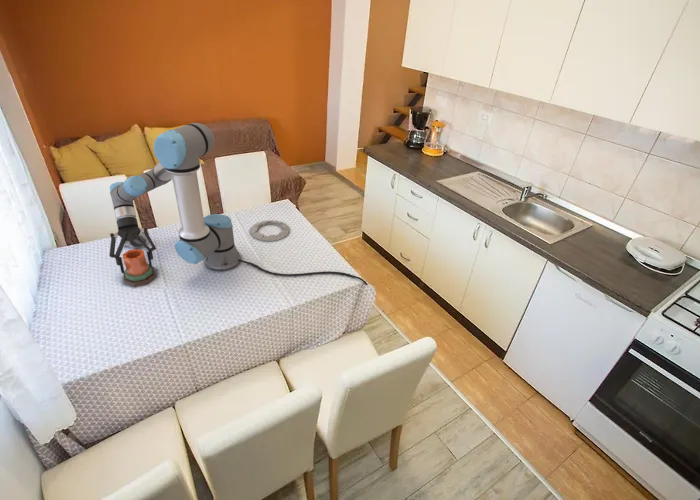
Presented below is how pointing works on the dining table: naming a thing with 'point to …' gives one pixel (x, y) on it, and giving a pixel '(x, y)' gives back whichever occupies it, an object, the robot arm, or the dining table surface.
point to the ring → (270, 237)
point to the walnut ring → (141, 282)
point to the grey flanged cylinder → (135, 242)
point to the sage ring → (139, 277)
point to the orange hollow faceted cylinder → (135, 262)
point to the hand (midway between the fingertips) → (137, 269)
